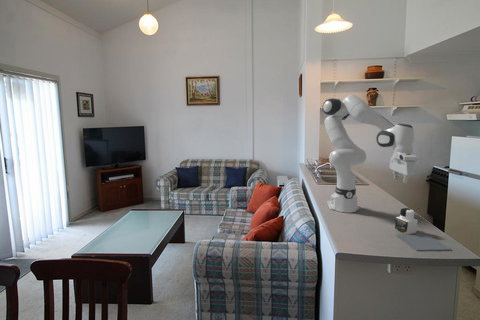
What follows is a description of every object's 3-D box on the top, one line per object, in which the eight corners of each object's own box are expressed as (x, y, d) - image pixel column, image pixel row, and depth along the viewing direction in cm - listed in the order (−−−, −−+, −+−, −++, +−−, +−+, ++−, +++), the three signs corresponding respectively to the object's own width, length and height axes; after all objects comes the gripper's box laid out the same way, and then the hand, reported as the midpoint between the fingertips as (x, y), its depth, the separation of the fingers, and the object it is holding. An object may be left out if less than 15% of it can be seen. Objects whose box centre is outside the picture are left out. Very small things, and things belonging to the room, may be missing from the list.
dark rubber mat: (395, 235, 141) (395, 234, 141) (427, 235, 142) (427, 234, 142) (416, 250, 126) (416, 249, 125) (451, 250, 126) (451, 249, 126)
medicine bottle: (394, 229, 149) (396, 207, 147) (404, 227, 151) (406, 206, 149) (406, 235, 142) (408, 212, 140) (416, 233, 144) (419, 210, 142)
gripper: (387, 152, 158) (385, 176, 160) (405, 157, 137) (403, 185, 139) (399, 152, 157) (397, 176, 159) (419, 157, 137) (417, 185, 139)
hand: (400, 180), depth 149 cm, fingers open, 8 cm apart
